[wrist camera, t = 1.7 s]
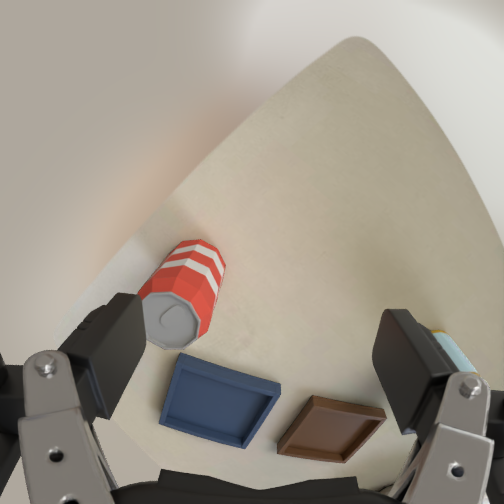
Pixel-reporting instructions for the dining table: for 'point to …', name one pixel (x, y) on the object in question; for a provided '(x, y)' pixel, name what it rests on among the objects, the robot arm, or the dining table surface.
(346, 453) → the tray
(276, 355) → the dining table surface
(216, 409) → the tray
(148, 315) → the beverage can
